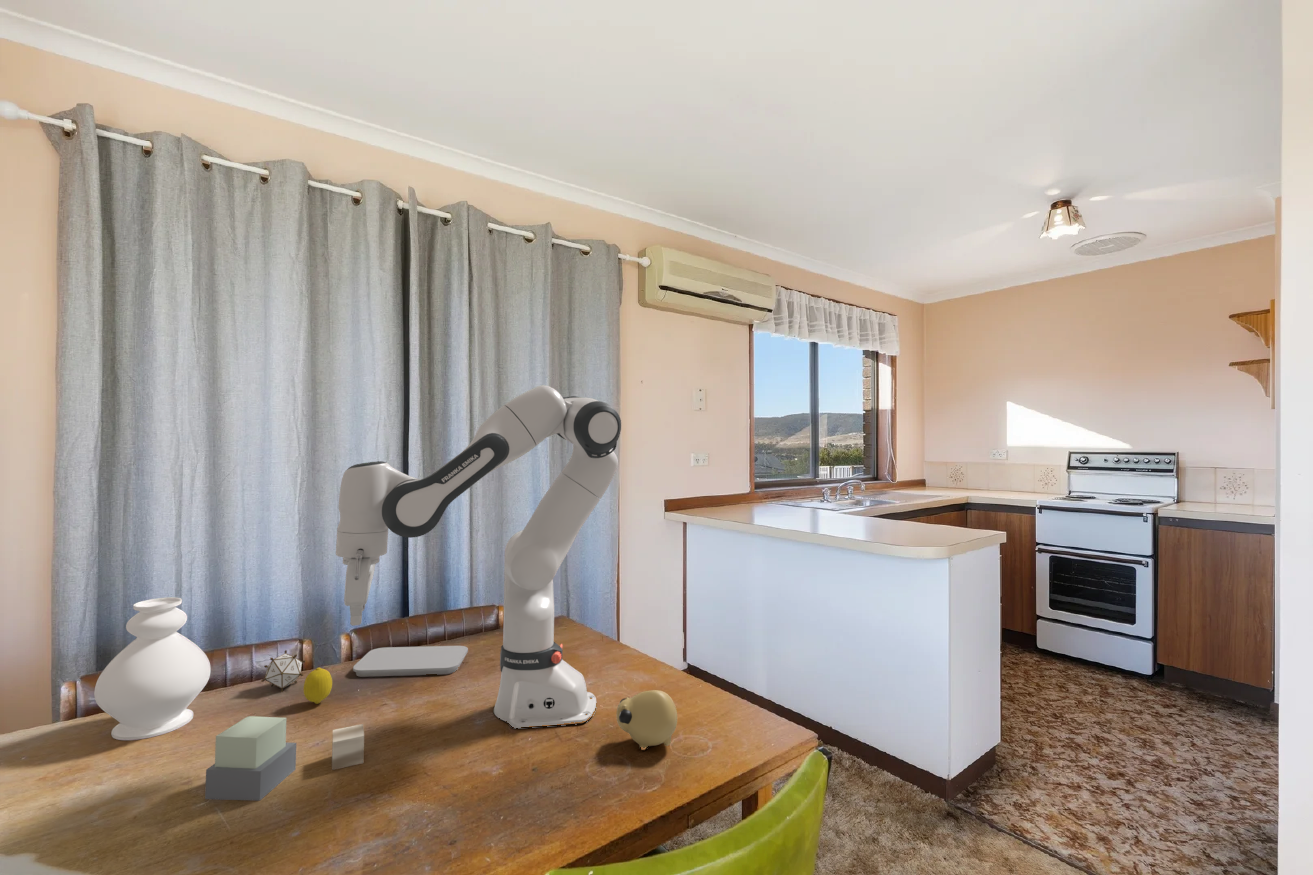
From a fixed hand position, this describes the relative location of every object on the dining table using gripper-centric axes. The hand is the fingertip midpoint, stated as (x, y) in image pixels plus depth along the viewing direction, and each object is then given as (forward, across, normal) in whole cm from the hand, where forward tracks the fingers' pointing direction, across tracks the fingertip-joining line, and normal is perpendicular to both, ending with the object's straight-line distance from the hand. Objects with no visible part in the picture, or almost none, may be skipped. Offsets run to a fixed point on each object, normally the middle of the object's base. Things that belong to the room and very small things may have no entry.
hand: (357, 617), depth 110 cm
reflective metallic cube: (+25, -4, 0) cm, 25 cm away
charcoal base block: (+26, -6, +14) cm, 30 cm away
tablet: (+25, +41, -12) cm, 50 cm away
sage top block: (+21, -7, +15) cm, 26 cm away
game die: (+26, +36, +17) cm, 48 cm away
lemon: (+26, +24, +8) cm, 36 cm away
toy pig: (+24, -20, -53) cm, 62 cm away
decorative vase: (+26, +25, +37) cm, 52 cm away
